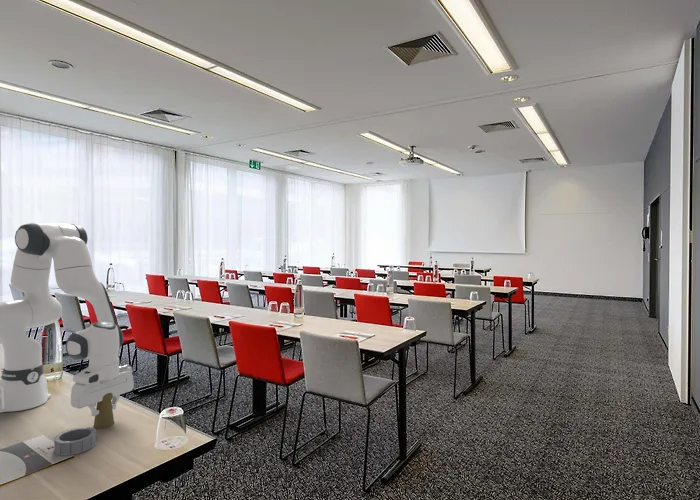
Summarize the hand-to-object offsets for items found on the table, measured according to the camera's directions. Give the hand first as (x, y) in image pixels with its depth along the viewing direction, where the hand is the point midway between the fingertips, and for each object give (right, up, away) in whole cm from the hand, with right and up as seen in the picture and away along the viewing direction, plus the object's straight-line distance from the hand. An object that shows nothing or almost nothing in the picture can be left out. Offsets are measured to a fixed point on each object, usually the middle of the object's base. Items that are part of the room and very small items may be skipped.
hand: (104, 412), depth 144 cm
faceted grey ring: (0, -4, -16) cm, 16 cm away
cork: (0, -4, 0) cm, 4 cm away
